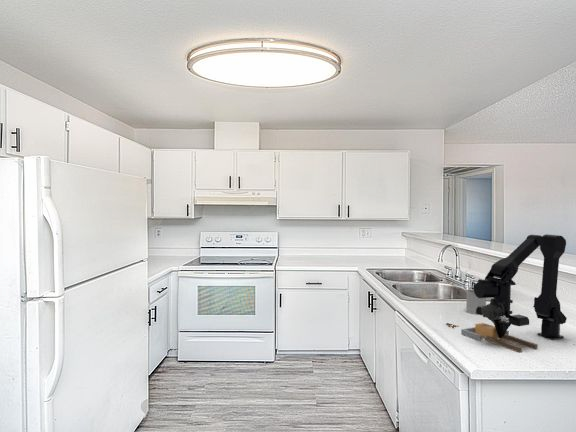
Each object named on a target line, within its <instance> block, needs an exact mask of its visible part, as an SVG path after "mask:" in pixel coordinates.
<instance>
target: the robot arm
mask: <svg viewBox="0 0 576 432" xmlns="http://www.w3.org/2000/svg"><path fill="white" fill-rule="evenodd" d="M566 246H567V241H566V239H565V238H564V236H563V235H559V234H558V235H557V234H548V233H547V234H543V235H541V234H540V235H538V234H529V235H527V237H526V238H525V240H523V241H522V242H521V244H519V245H518V246H517V247H516V248H515V249H514V250H513V251H512V252H511V253H510V254H509V255H508V256H506V257H504V258H501V259H499V260H497V261H496V262H494V263H493V264H492V265H491V268H490V269H489V271H488V272H487V274H486V275H485V277H484V279H482V278H479V279H478V280H477V282H476V283H475V284H474V286H473V290H474V293H475V295H476V296H477V297H478V298H486V299H488V298H489V299H490V301H489V303H488V304H486V306H478V307H477V308H476V314H479V315H478V316H482V317H483V318H487V319H488V320H489V321H491V322H492V324H493V326H495V328H496V331H497V334H498V337H499V338H500V339H504V338H503V336H504V334H505V333H506V331H508V329H509V327H511V325H512V326H515V327H524V326H530V319H529V317H528V316H525V315H521V314H513V310H511V304H513V303H514V300H513V299H511V294H512V293H511V292H512V291H511V289H512V286H516V285H517V283H516V282H515V281H514V280H513V278H514V277H515V275H517V273H518V272H519V271H518V270H519V267H520V265H521V264H522V263H523V262H524V261H526V259H528V258H529V256H530V255H531V254H532V253H534V252H535V251H536V250H537V249H538V248H539V249H540V252H541V254H542V256H543V266H542V277H541V278H542V279H541V288H540V289H541V291H540V294H539V295H538V296H537V297H536V296H535V297H534V299H533V301H534V302H533V306H532V307H533V309H534V312H535V315H536V318H537V319H540V320H541V328H540V331H541V332H538V333H537V335H538V336H541V337H544V338H548V339H550V340H557V339H562V338H563V339H564V337H565V336H564V335H561V325H563V324H566V322H567V320H568V318H567V316H566V315H565V314H564V313H563V311H561V303H560V301H559V298H558V296H557V290H558V288H557V287H558V277H559V263H560V258H561V257H562V256H563V254H565V251H566Z"/></svg>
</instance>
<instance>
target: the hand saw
mask: <svg viewBox="0 0 576 432" xmlns="http://www.w3.org/2000/svg"><path fill="white" fill-rule="evenodd" d="M452 325H453V326H452ZM445 326H447V328H451V327H452V328H451V329H455V328H457V327H458V328H459V327H460V326H459V325H455V324H452V323H448V322H446V323H445ZM454 327H455V328H454Z"/></svg>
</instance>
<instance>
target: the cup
mask: <svg viewBox="0 0 576 432" xmlns="http://www.w3.org/2000/svg"><path fill="white" fill-rule="evenodd" d="M486 305H487V298H478V297H477V296H476V295H475V293H474V289H467V290H466V307H465V311H466V313H468V314H470V315H475V316H477V315H478V316H480V315H479V314H476V308H477V307H478V306H486Z"/></svg>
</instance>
